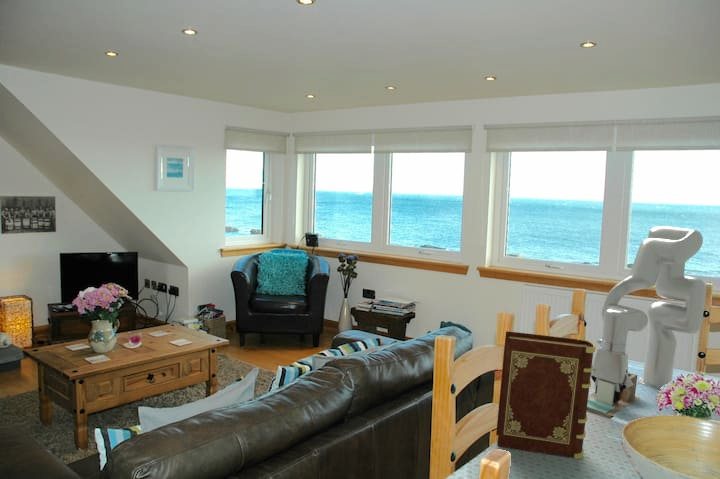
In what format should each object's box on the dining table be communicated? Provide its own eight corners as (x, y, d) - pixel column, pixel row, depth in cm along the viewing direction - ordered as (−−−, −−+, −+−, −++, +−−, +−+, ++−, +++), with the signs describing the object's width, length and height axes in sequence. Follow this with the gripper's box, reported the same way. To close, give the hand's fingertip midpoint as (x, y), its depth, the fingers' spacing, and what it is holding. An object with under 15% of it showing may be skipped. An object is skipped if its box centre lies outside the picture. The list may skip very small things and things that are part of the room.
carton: (602, 396, 188) (605, 376, 187) (617, 401, 185) (620, 380, 184) (595, 400, 184) (597, 380, 183) (610, 405, 180) (613, 384, 180)
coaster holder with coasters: (604, 389, 198) (607, 366, 197) (640, 400, 189) (642, 376, 188) (573, 405, 180) (575, 380, 180) (610, 418, 172) (613, 392, 171)
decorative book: (579, 446, 151) (591, 340, 148) (585, 460, 143) (598, 348, 140) (496, 434, 155) (505, 330, 152) (497, 447, 148) (507, 338, 145)
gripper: (583, 341, 186) (577, 393, 188) (635, 355, 174) (629, 410, 176) (592, 338, 191) (587, 389, 193) (644, 351, 179) (638, 405, 181)
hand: (607, 398), depth 184 cm, fingers closed on carton, 5 cm apart
